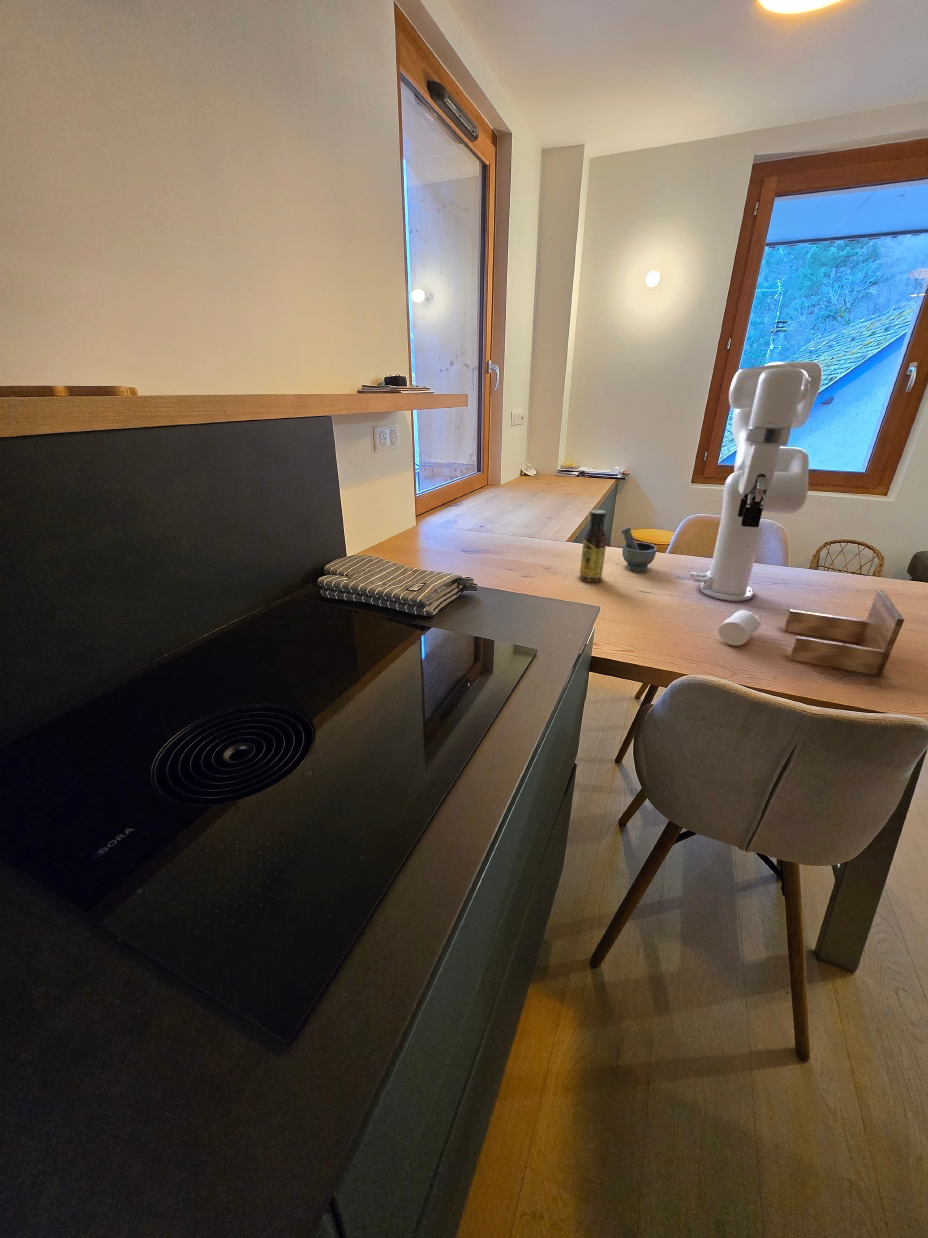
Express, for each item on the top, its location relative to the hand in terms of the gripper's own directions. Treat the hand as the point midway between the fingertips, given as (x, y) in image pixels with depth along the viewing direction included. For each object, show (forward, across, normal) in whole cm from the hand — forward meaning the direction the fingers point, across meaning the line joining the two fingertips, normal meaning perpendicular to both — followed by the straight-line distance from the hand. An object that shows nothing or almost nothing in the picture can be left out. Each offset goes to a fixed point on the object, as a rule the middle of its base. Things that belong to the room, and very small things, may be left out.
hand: (747, 521), depth 106 cm
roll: (+24, +6, +3) cm, 25 cm away
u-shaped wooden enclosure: (+24, +7, +20) cm, 32 cm away
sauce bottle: (+24, -17, -34) cm, 45 cm away
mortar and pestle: (+23, -31, -23) cm, 45 cm away
